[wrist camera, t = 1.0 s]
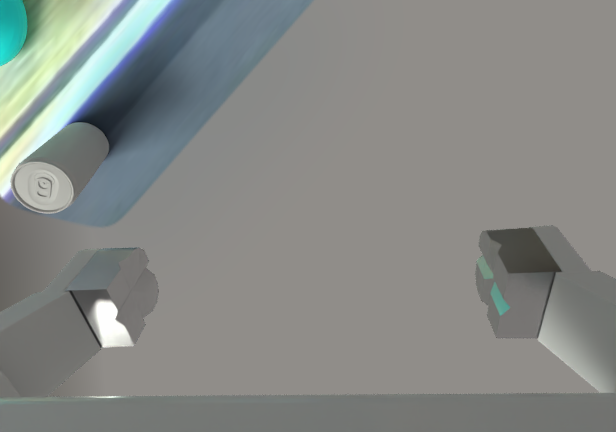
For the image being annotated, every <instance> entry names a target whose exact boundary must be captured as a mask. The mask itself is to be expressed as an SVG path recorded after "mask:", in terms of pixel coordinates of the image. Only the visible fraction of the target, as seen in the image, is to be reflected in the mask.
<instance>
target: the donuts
mask: <svg viewBox="0 0 616 432" xmlns="http://www.w3.org/2000/svg"><path fill="white" fill-rule="evenodd" d="M26 35H27V15H26V10H25V7H24V4H23V1H22V0H0V66H2V65H4V64H6V63H8V62H9V61H11V60H12V59H13V58H14V57H15V56H16V55H17V54H18V53H19V51H20V50H21V48H22V46H23V44H24V42H25V39H26Z"/></svg>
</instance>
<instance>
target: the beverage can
mask: <svg viewBox="0 0 616 432" xmlns="http://www.w3.org/2000/svg"><path fill="white" fill-rule="evenodd" d="M108 152H109V143H108V140H107V138H106V136H105V135H104V133H103V132H102V131H101V130H100V129H98V128H97V127H95V126H94V125H91V124H88V123H83V122H76V123H72V124H69V125H67V126H66V127H65V128H63V129H62V130H61V131H59V132H58V133H57V134H56V135H55V136H53V137H52V138H51V139H50V140H48V141H47V142H46V143H45V144H43V145H42V146H41V147H40V148H38V149H37V150H36V151H35V152H33V153H32V154H31V155H30V156H28V157H27V158H26V159H25V160H23V161H22V162H21V163H20V164H19V165H18V166H17V167H16V169H15V171H14V173H13V174H12V177H11V189H12V191H13V194H14V196H15V197H16V198H17V200H18V201H19V202H20V203H22V204H23V205H24V206H25V207H27V208H29V209H31V210H33V211H36V212H39V213H48V214H49V213H57V212H59V211H62V210H64V209H65V208H67V207H68V206H70V205H71V204H72V203H73V202H74V201H75V200H76V198H77V197H78V196H79V194H80V193H81V192H82V190H83V189H84V187H85V186H86V185H87V183H88V182H89V181H90V179H91V178H92V176H93V175H94V174H95V172H96V171H97V169H98V168H99V166H100V165H101V163H102V162H103V161H104V159H105V158H106V157H107V155H108Z"/></svg>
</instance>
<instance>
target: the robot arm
mask: <svg viewBox="0 0 616 432" xmlns="http://www.w3.org/2000/svg"><path fill="white" fill-rule="evenodd" d="M479 247H480V250H481V252H482V254H483V255H482V256H481V257H480V258H479V259H478V260H477V261H476V271H475V275H476V286H477V290H478V293H479V296H480V299H481V301H482V302H484V303H485V304H487V305H488V312H487V316H488V319H489V321H490V324H491V326H492V329H493V331H494V333H495V336H496V338H538V341H539V342H541V343H542V344H543V345H544V346H545V347H547V348H548V349H549V350H550V351H551V352H553V353H554V354H555V355H556V356H557V357H558V358H560V359H561V360H562V361H563V362H565V363H566V364H567V365H568V366H569V367H570V368H572V369H573V370H574V371H575V372H576V373H578V374H579V375H580V376H581V377H582V378H584V379H585V380H586V381H587V382H588V383H589V384H591V385H592V386H593V387H594V388H596V389H597V390H598V391H599V392H600V393H525V394H524V393H523V394H521V393H520V394H519V393H516V394H376V395H375V394H358V395H356V394H355V395H217V396H215V395H213V396H79V397H78V396H74V397H71V396H69V397H47V396H48V395H50V394H51V393H52V392H53V391H54V390H55V389H56V388H58V387H59V386H60V385H61V384H62V383H63V382H64V381H65V380H67V379H68V378H69V377H70V376H71V375H72V374H74V373H75V371H77V370H78V369H79V368H80V367H82V366H83V365H84V364H85V363H86V362H87V361H88V360H89V359H91V358H92V357H93V356H94V355H95V354H96V353H97V352H98V351H100V350H101V348H102V347H122V346H135V344H136V342H137V340H138V338H139V336H140V334H141V332H142V330H143V329H144V327H145V325H146V324H145V322H144V319H143V318H144V317H145V316H147V315H148V314H149V313H151V312H152V311H153V309H154V307H155V305H156V303H157V298H158V292H159V290H158V283H157V280H156V277H155V275H154V274H153V273H152V272H150V271H149V270H148V269H147V268H146V267H147V264H148V262H149V260H148V257H147V255H146V253H145V251H144V250H143V249H141V248H107V249H85V250H82V251H79V252H78V253H77V254H76V255H75V256H74V257H73V258H72V259H71V260H70V262H69V263H68V264H67V265H66V266H65V267H64V268H63V269H62V271H61V272H60V273H59V274H58V275H57V276H56V277H55V279H54V280H53V281H52V282H51V283H50V284H49V285H48V286H47V288H46V289H45V290H44V291H43V292H39V293H35V294H33V295H31V296H29V297H28V298H26V299H24V300H22V301H20V302H18V303H16V304H15V305H13V306H11V307H9V308H8V309H6V310H4V311H2V312H0V432H616V279H615V278H613V277H611V276H609V275H607V274H605V273H603V272H600V271H591V270H590V269H589V267H588V266H587V265H586V263H585V262H584V261H583V259H582V258H581V257H580V256H579V254H578V253H577V252H576V251H575V249H574V248H573V247H572V246H571V244H570V243H569V242H568V241H567V239H566V238H565V237H564V235H563V234H562V233H561V232H560V230H559V229H558V228H557V227H555V226H553V225H551V226H539V227H529V228H519V229H504V230H486V231H482V233H481V235H480V239H479Z"/></svg>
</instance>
